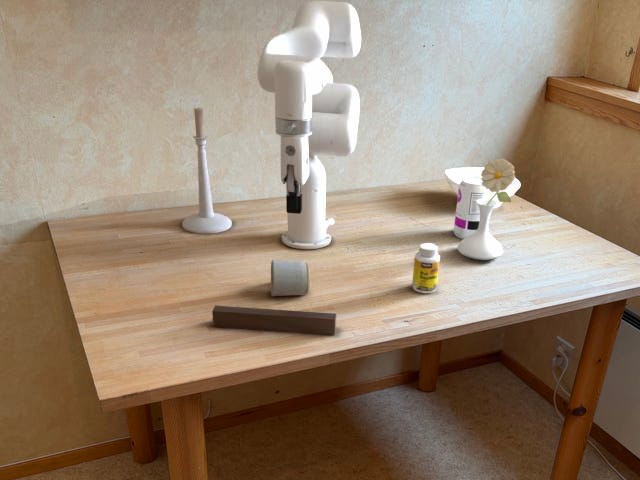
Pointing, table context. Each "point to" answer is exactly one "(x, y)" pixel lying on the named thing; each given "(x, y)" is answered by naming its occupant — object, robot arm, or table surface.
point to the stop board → (274, 320)
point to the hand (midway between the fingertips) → (294, 211)
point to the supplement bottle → (426, 268)
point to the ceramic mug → (289, 278)
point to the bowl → (458, 174)
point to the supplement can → (468, 206)
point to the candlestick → (204, 190)
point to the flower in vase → (488, 211)
